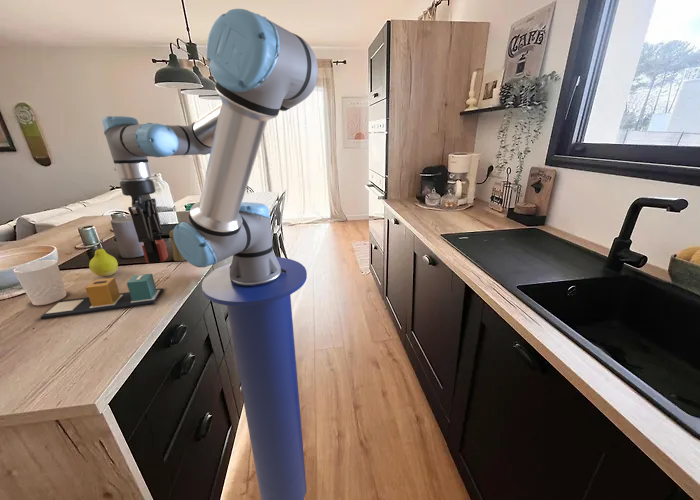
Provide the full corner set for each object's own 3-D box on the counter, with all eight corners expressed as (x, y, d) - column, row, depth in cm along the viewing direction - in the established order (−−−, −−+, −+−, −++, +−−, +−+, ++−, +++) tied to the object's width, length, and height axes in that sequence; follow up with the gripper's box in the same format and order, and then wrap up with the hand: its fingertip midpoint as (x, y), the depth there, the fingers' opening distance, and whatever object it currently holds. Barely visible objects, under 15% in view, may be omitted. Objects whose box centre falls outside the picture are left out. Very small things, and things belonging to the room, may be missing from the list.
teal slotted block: (156, 291, 81) (152, 272, 79) (151, 298, 77) (146, 279, 75) (138, 293, 80) (133, 274, 78) (132, 301, 76) (126, 282, 74)
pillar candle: (119, 253, 110) (107, 215, 104) (149, 247, 116) (139, 210, 110) (122, 260, 103) (110, 220, 98) (154, 253, 109) (144, 215, 104)
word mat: (163, 289, 83) (162, 287, 83) (154, 304, 76) (153, 301, 75) (61, 302, 76) (60, 300, 76) (41, 319, 69) (40, 316, 69)
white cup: (61, 289, 83) (48, 257, 79) (75, 295, 80) (62, 262, 76) (23, 302, 76) (7, 268, 73) (36, 309, 73) (20, 274, 69)
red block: (168, 256, 89) (164, 238, 87) (164, 261, 84) (159, 243, 82) (151, 257, 87) (146, 240, 85) (146, 263, 83) (141, 244, 81)
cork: (170, 258, 104) (163, 229, 101) (187, 253, 109) (181, 226, 105) (178, 262, 101) (172, 232, 97) (195, 257, 106) (189, 228, 102)
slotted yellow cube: (120, 295, 78) (114, 276, 76) (112, 304, 74) (106, 284, 72) (100, 298, 77) (94, 279, 75) (92, 306, 73) (84, 286, 71)
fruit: (89, 281, 88) (76, 244, 83) (97, 272, 93) (85, 238, 89) (117, 277, 90) (105, 241, 86) (123, 269, 96) (112, 235, 92)
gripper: (132, 176, 84) (153, 250, 93) (104, 184, 69) (131, 272, 77) (161, 175, 86) (178, 247, 95) (140, 182, 71) (163, 268, 79)
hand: (157, 258), depth 86 cm, fingers closed on red block, 4 cm apart
